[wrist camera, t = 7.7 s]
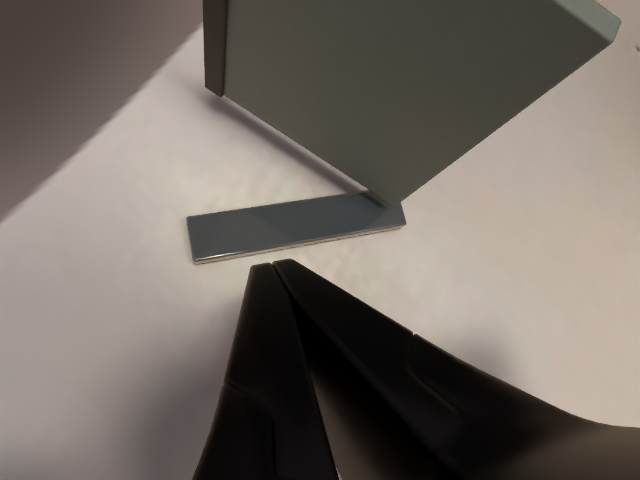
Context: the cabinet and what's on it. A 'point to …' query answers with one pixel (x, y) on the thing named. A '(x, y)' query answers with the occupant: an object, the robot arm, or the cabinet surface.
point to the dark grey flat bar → (290, 225)
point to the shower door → (395, 73)
